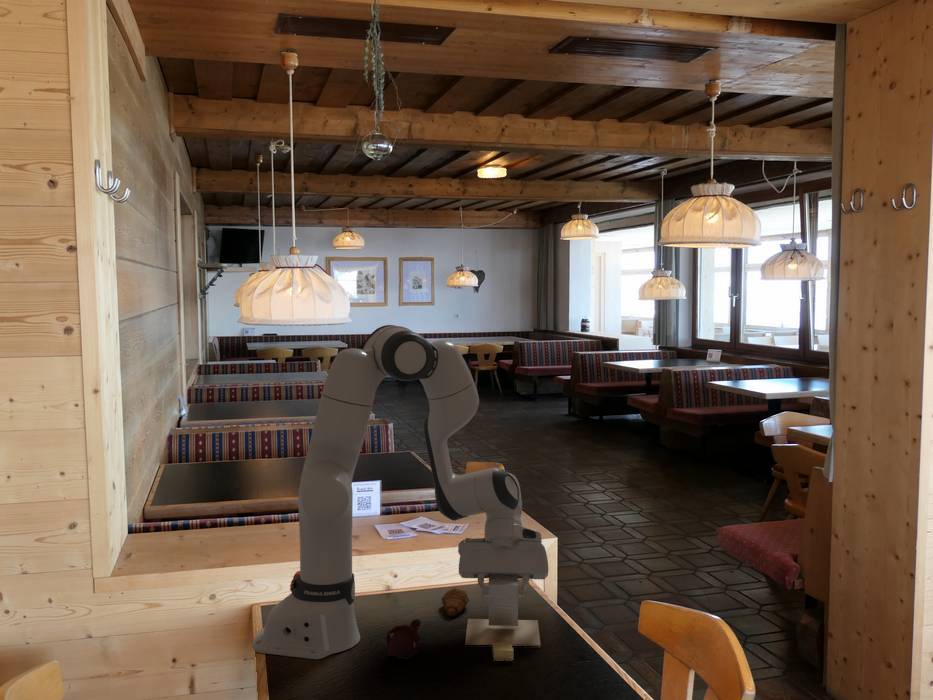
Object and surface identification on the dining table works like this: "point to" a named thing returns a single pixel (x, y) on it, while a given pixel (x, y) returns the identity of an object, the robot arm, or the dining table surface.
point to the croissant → (454, 601)
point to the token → (502, 651)
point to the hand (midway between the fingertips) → (503, 595)
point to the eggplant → (404, 640)
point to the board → (502, 633)
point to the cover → (503, 600)
